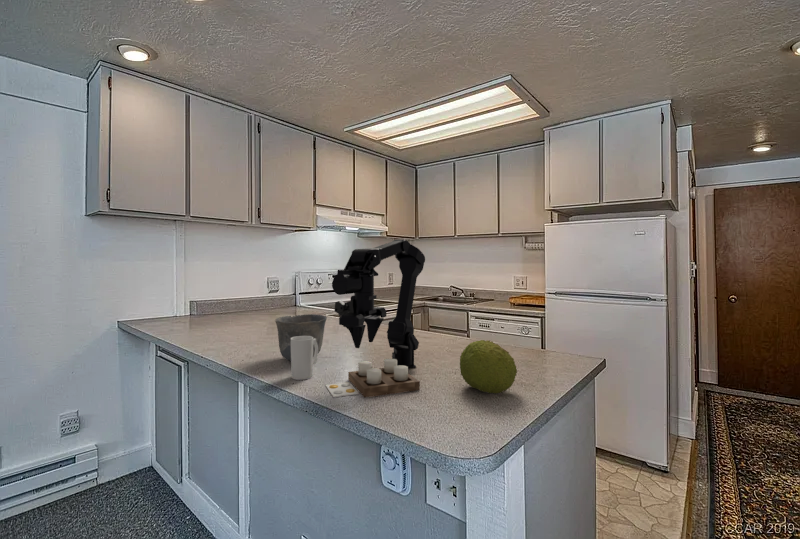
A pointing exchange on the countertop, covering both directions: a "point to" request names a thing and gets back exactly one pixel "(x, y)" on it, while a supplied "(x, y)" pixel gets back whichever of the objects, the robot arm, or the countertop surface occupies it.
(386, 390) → the board
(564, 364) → the countertop surface
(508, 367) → the fruit
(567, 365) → the countertop surface
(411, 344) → the robot arm
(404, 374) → the button
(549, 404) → the countertop surface
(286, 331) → the dark grey pot
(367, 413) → the countertop surface
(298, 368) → the mug
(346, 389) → the card
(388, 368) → the pale grey egg
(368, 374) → the button
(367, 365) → the white egg
